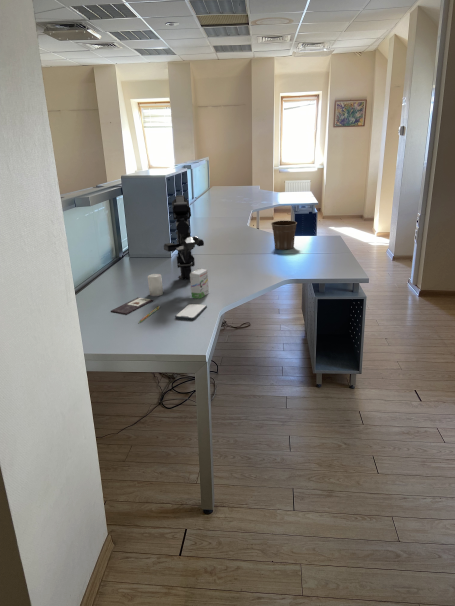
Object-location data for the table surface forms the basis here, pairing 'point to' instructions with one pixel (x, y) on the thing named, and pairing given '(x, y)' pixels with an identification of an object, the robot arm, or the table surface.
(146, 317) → the pencil
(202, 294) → the ink box
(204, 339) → the table surface
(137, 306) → the chocolate bar
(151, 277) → the white rounded cylinder
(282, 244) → the plant pot
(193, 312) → the smartphone
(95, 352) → the table surface
